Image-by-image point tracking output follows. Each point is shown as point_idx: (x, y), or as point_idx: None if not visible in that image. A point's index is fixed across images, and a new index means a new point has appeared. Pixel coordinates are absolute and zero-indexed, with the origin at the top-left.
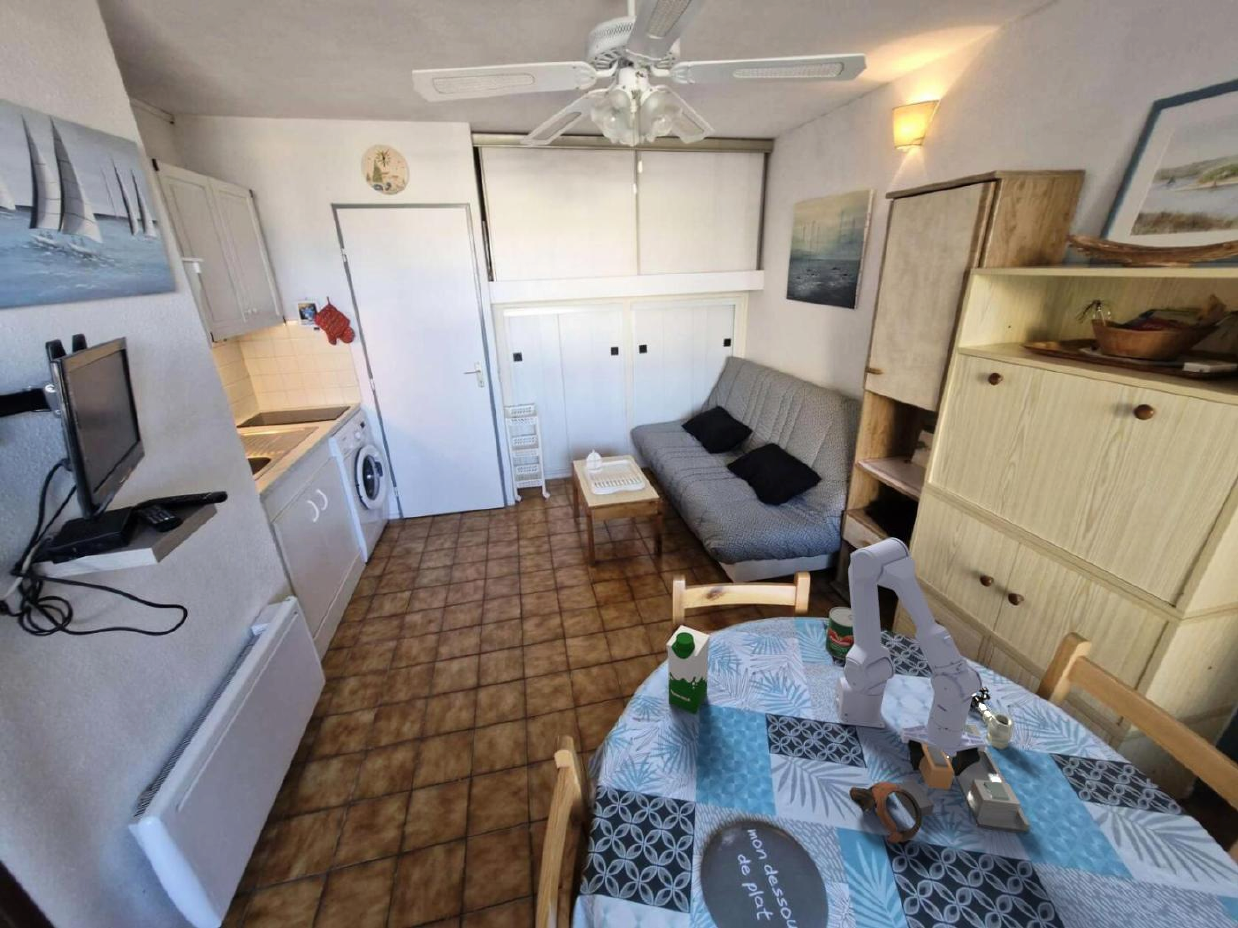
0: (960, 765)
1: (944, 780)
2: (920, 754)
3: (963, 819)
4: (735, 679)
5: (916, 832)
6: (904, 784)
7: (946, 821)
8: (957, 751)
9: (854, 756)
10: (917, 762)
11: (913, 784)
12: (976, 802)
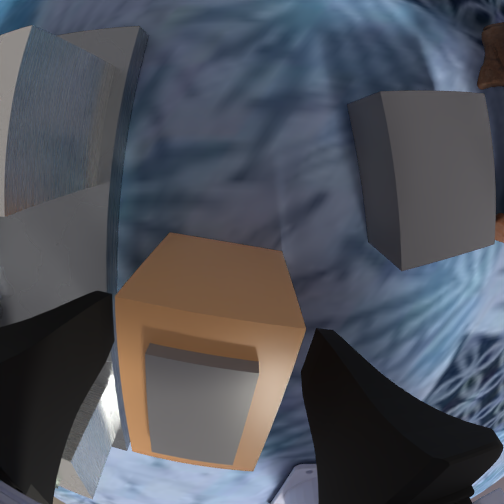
0: (58, 338)
1: (195, 262)
2: (471, 450)
3: (194, 67)
4: (499, 463)
5: (491, 24)
6: (466, 241)
7: (293, 60)
8: (52, 424)
9: (466, 368)
10: (368, 375)
11: (427, 238)
12: (81, 99)
